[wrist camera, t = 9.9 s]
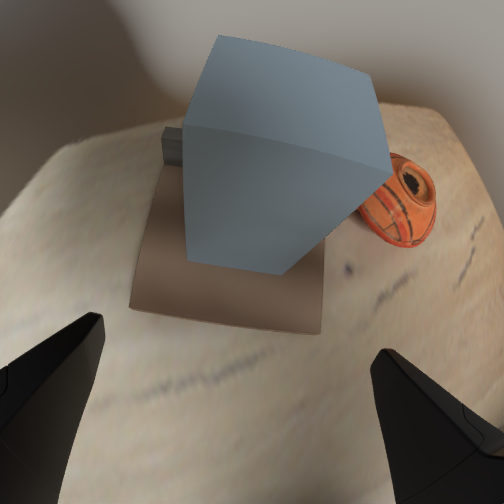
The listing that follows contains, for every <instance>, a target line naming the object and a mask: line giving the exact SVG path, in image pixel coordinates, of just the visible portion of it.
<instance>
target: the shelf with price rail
mask: <svg viewBox="0 0 504 504" xmlns="http://www.w3.org/2000/svg"><path fill="white" fill-rule="evenodd" d="M161 140H162V150H163V160H164V166H163V169H162V172H161V176H160V179H159V182H158V186H157V189H156V192H155V196H154V199H153V203H152V207H151V210H150V214H149V218H148V221H147V225H146V229H145V233H144V237H143V241H142V246H141V250H140V254H139V259H138V263H137V268H136V272H135V277H134V282H133V287H132V292H131V298H130V303H129V308H131V309H133V310H138V311H143V312H148V313H153V314H159V315H164V316H170V317H175V318H181V319H187V320H193V321H200V322H206V323H213V324H220V325H227V326H234V327H242V328H250V329H258V330H267V331H276V332H286V333H297V334H308V335H318V334H320V331H321V316H322V299H323V277H324V241H325V238H324V239H322V240H321V241H320V242H319V243H318V244H317V245H316V246H315V247H313V248H312V249H311V250H310V251H309V252H308V253H307V254H306V255H304V256H303V257H302V258H301V259H300V260H299V261H298V262H296V263H295V264H294V265H293V266H292V267H291V268H290V269H288V270H287V271H286V272H285V273H284V274H283V275H274V274H268V273H261V272H255V271H248V270H242V269H235V268H229V267H223V266H217V265H210V264H204V263H198V262H192V261H187V251H186V235H185V216H184V191H183V129H180V128H172V127H165V129H164V132H163V135H162V137H161Z"/></svg>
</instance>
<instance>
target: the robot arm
mask: <svg viewBox="0 0 504 504" xmlns="http://www.w3.org/2000/svg"><path fill="white" fill-rule="evenodd" d="M104 342H105V328H104V320H103V316H102V315H101V314H98V313H94V312H88V313H87V314H85V315H84V316H82V317H80V318H79V319H77V320H76V321H74V322H72V323H71V324H69V325H68V326H66V327H64V328H63V329H61V330H60V331H58V332H57V333H55V334H53V335H52V336H50V337H49V338H47V339H46V340H44V341H43V342H41V343H40V344H38V345H36V346H35V347H33V348H32V349H30V350H29V351H27V352H26V353H24V354H23V355H21V356H20V357H18V358H17V359H15V360H14V361H12V362H11V363H9V364H8V366H5V367H3V368H2V369H0V504H57V503H58V499H59V494H60V490H61V486H62V482H63V478H64V474H65V470H66V466H67V463H68V459H69V456H70V452H71V449H72V446H73V442H74V439H75V436H76V433H77V430H78V427H79V424H80V421H81V418H82V415H83V412H84V409H85V406H86V403H87V400H88V398H89V395H90V392H91V389H92V387H93V384H94V380H95V376H96V372H97V368H98V364H99V361H100V357H101V353H102V350H103V346H104ZM370 373H371V379H372V385H373V391H374V398H375V405H376V410H377V414H378V418H379V422H380V427H381V431H382V435H383V440H384V444H385V449H386V453H387V458H388V463H389V468H390V473H391V478H392V484H393V489H394V495H395V501H396V504H504V433H503V432H502V431H500V430H499V429H497V428H496V427H494V426H493V425H491V424H490V423H488V422H487V421H485V420H484V419H483V418H481V417H480V416H478V415H477V414H476V413H474V412H473V411H472V410H470V409H469V408H468V407H467V406H465V405H464V404H463V403H461V402H460V401H459V400H458V399H456V398H455V397H454V396H453V395H451V394H450V393H449V392H447V391H446V390H445V389H444V388H442V387H441V386H440V385H438V384H437V383H436V382H435V381H433V380H432V379H431V378H430V377H428V376H427V375H426V374H424V373H423V372H422V371H421V370H419V369H418V368H417V367H415V366H414V365H413V364H412V363H410V362H409V361H408V360H406V359H405V358H404V357H403V356H401V355H400V354H399V353H397V352H396V351H395V350H394V349H391V348H384V349H381V350H380V351H379V353H378V355H377V356H376V358H375V360H374V361H373V363H372V364H371V368H370Z"/></svg>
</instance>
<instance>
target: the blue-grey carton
mask: <svg viewBox="0 0 504 504" xmlns="http://www.w3.org/2000/svg"><path fill="white" fill-rule="evenodd" d="M392 175H393V169H392V163H391V158H390V153H389V148H388V143H387V138H386V134H385V130H384V125H383V121H382V117H381V113H380V109H379V105H378V102H377V98H376V95H375V91H374V88H373V84H372V81H371V78H370V76H369V75H367V74H365V73H362V72H360V71H357V70H355V69H352V68H349V67H347V66H344V65H341V64H338V63H335V62H332V61H329V60H326V59H323V58H320V57H317V56H313V55H310V54H306V53H303V52H299V51H296V50H292V49H288V48H284V47H280V46H276V45H271V44H267V43H262V42H257V41H252V40H246V39H241V38H235V37H228V36H222V35H218V37H217V39H216V41H215V43H214V46H213V48H212V50H211V52H210V55H209V57H208V59H207V62H206V64H205V67H204V69H203V72H202V74H201V76H200V79H199V81H198V84H197V86H196V89H195V92H194V94H193V97H192V99H191V102H190V105H189V107H188V110H187V113H186V116H185V119H184V121H183V191H184V216H185V235H186V251H187V261H192V262H198V263H204V264H210V265H217V266H223V267H229V268H235V269H242V270H248V271H255V272H261V273H268V274H274V275H283V274H284V273H285V272H286V271H287V270H288V269H290V268H291V267H292V266H293V265H294V264H295V263H296V262H298V261H299V260H300V259H301V258H302V257H303V256H304V255H306V254H307V253H308V252H309V251H310V250H311V249H312V248H313V247H315V246H316V245H317V244H318V243H319V242H320V241H321V240H322V239H324V238H325V237H326V236H327V235H328V234H329V233H330V232H331V231H333V230H334V229H335V228H336V227H337V226H338V225H339V224H340V223H341V222H342V221H344V220H345V219H346V218H347V217H348V216H349V215H350V214H351V213H352V212H353V211H355V210H356V209H357V208H358V207H359V206H360V205H361V204H362V203H363V202H364V201H365V200H366V199H367V198H369V197H370V196H371V195H372V194H373V193H374V192H375V191H376V190H377V189H378V188H379V187H380V186H381V185H382V184H384V183H385V182H386V181H387V180H388V179H389V178H390V177H391V176H392Z"/></svg>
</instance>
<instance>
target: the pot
mask: <svg viewBox="0 0 504 504" xmlns="http://www.w3.org/2000/svg"><path fill="white" fill-rule="evenodd" d="M389 153H390V152H389ZM390 158H391V163H392V169H393V175H392V176H391V177H390V178H389V179H388V180H387V181H386V182H385V183H384V184H382V185H381V186H380V187H379V188H378V189H377V190H376V191H375V192H374V193H373V194H372V195H371V196H370V197H369V198H367V199H366V200H365V201H364V202H363V203H362V204H361V205H360V206H359V207H358V208H357V209H356V210H359V212H360V214H361V215H362V217H363V219H364V221H365V222H366V224H367V225H368V226H369V228H370V229H371V230H372V231H373V232H374V233H376V234H377V235H378V236H379V237H381V238H382V239H383V240H384V241H386V242H388V243H390V244H393V245H395V246H399V247H405V248H411V247H416V246H418V245H419V244H421V243H422V242H423V241H425V239H426V238H427V237H428V235H429V234H430V232H431V231H432V228H433V226H434V222H435V218H436V199H435V197H436V192H435V186H434V184H433V181H432V179H431V178H430V176H429V174H428V173H427V172H426V171H425V170H424V169H422V168H421V167H420V166H418V165H417V164H415V163H414V162H412V161H411V160H409V159H407V158H405V157H403V156H400V155H398V154H395V153H390Z"/></svg>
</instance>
